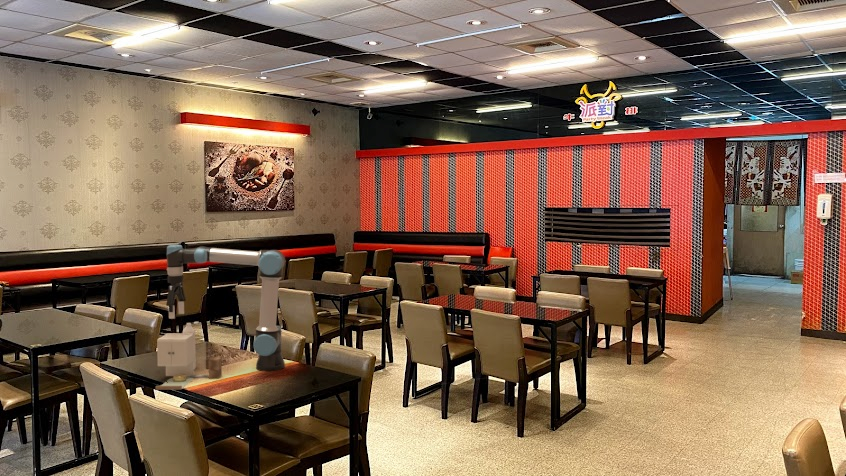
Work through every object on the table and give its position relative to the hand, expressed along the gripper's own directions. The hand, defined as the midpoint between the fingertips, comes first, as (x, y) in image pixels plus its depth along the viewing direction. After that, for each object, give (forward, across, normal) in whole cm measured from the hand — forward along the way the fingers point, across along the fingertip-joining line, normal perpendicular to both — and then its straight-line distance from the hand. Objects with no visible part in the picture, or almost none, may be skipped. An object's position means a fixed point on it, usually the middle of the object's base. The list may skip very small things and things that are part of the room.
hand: (176, 316), depth 337 cm
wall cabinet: (+31, +7, +1) cm, 32 cm away
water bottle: (+31, -14, +2) cm, 34 cm away
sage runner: (+31, +16, +4) cm, 35 cm away
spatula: (+31, +4, +12) cm, 34 cm away
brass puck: (+31, +10, +4) cm, 33 cm away
